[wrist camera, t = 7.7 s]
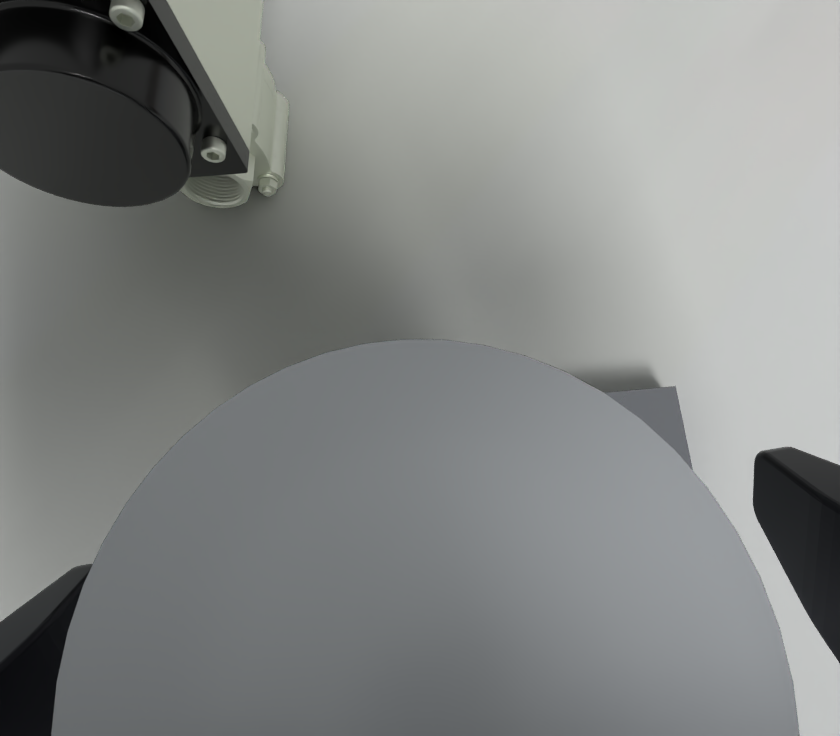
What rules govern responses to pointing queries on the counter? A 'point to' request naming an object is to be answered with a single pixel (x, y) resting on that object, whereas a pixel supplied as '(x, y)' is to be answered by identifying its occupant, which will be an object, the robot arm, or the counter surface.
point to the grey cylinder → (423, 568)
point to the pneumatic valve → (140, 100)
